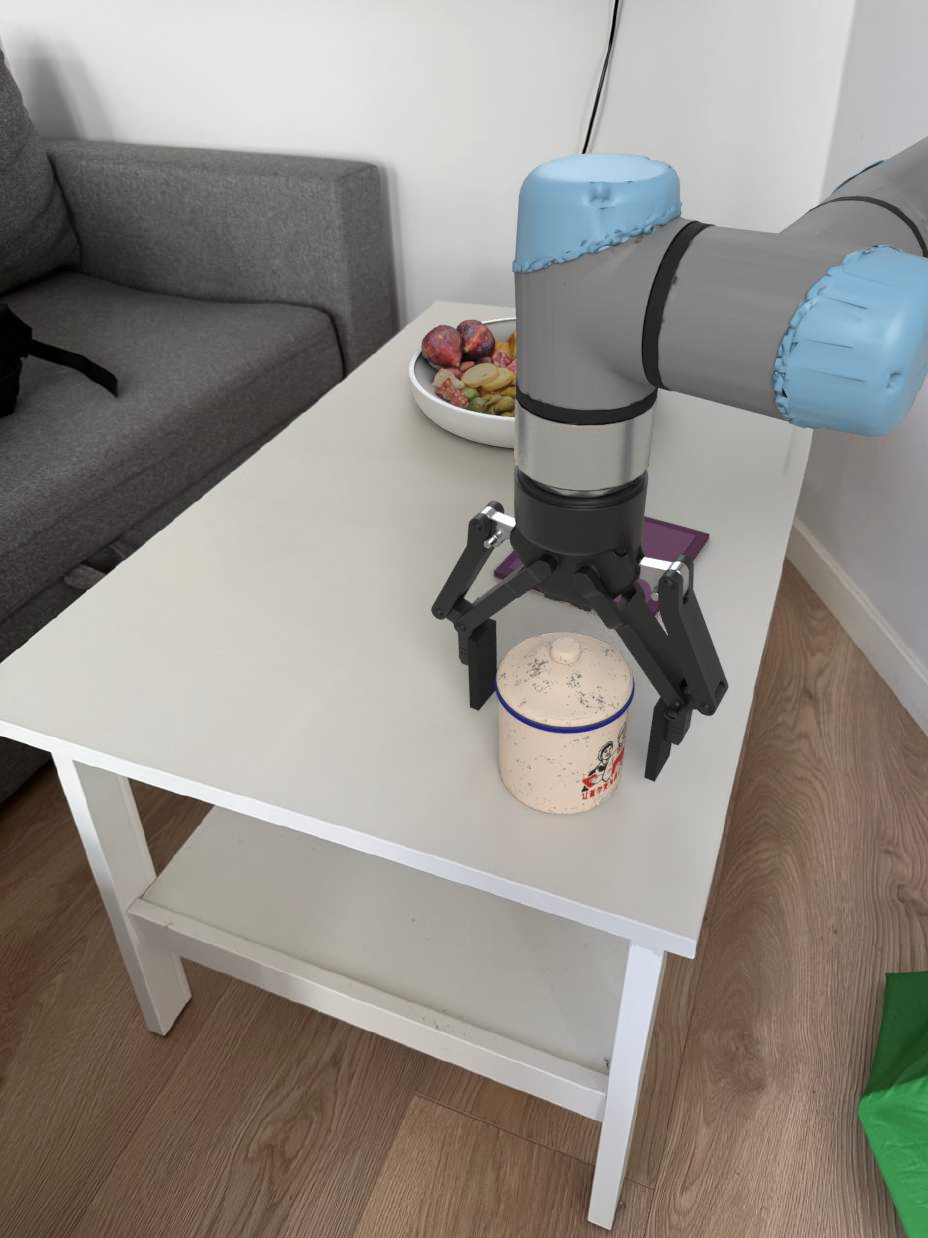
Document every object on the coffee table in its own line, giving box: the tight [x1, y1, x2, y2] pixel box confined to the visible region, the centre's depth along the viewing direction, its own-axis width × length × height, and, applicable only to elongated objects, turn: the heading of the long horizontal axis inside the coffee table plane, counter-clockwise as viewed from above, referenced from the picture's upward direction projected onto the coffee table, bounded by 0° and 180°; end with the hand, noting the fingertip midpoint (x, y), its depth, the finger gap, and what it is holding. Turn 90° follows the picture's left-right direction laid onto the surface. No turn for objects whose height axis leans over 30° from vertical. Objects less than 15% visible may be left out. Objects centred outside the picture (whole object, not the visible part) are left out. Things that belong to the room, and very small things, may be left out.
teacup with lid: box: [495, 631, 636, 815], centre depth 62 cm, size 12×9×12 cm
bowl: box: [407, 316, 661, 449], centre depth 109 cm, size 30×30×8 cm
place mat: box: [493, 515, 710, 617], centre depth 85 cm, size 15×15×1 cm
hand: (566, 731), depth 64 cm, fingers open, 13 cm apart
